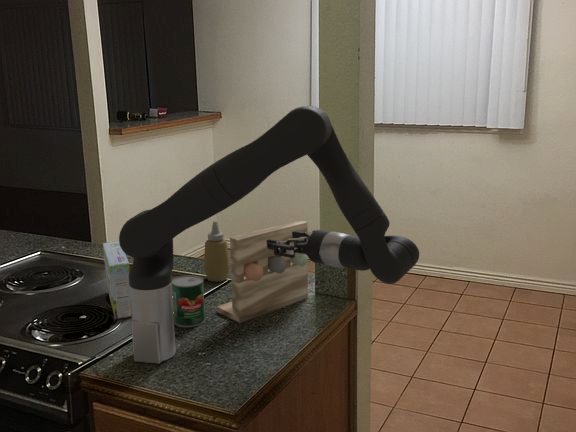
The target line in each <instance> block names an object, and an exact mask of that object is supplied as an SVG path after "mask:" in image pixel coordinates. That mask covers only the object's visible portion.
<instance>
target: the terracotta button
mask: <svg viewBox="0 0 576 432" xmlns="http://www.w3.org/2000/svg"><path fill="white" fill-rule="evenodd" d="M262 276H263V268H262V267H261V266H259V265H256V264H254V263H251V262H250V263H247V264H244V277H246V278H248V279H251V280H253V281H258V280H260V279H261V278H262Z"/></svg>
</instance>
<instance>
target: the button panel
mask: <svg viewBox="0 0 576 432" xmlns="http://www.w3.org/2000/svg"><path fill="white" fill-rule="evenodd" d="M294 231H298V232H308V221H304V220H300V219H299V220H296V221H291V222H287V223H282V224H280V225H276V226H272V227H271V226H270V227H268V228H267V227H266V228H263V229H258V230H255V231H251V232H247V233H243V234H240V235H239V234H238V235H235V236H231V237H229V245H230V246H229V248H230V249H229V251H230V254H229V255H230V278H231V279H230V280H231V281H230V282H231V301H229V302H226V303H223V304H220V305H217V306H216V307H215V308H216V313H219V314H221V315H223V316H225V317H227V318H229V319H230V320H233V321H235V322H237V323H239V324H241V323H245V322H246V321H249V320H252V319H255V318H257V317H260V316H264V315H266V314H269V313H271V312H274V311H277V310H280V309H283V308H285V307H288V306H292V305H294V304H296V303H299V302H302V301H304V300H303V299H305V300H307V299H309V297H308V294H309V293H308V291H309V290H308V287H309V286H308V281H309V278H308V277H309V276H308V275H309V273H308V270H309V269H308V268H309V267H308V265H309V264H308V263H309V261H308V262H307V264H306V265H305V266H303V267H302V266H298V265H295V264H293V263H291V258H289V257H284V256H278V255H274V250H271V249H268V248H267V242H266V241H267V240H268V239H272V240H277V241H287V239H290V238H292V232H294ZM285 245H287V244H285ZM291 245H292V246H294V242H291ZM271 256H277V257H280V258H283V259H285V260H286V262H287V267H286V269H285V271H284V272H283V273H281V274H279V273H276V272H273V271H270V270H268V257H271ZM250 262H251V263H254V264H256V265H259V266H261V267H262V268H263V276H262V278H261V279H260V280H258V281H253V280H251V279H248V278H246V277H244V264H247V263H250ZM306 298H307V299H306ZM301 300H302V301H301ZM298 301H299V302H298Z"/></svg>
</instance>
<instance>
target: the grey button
mask: <svg viewBox="0 0 576 432" xmlns="http://www.w3.org/2000/svg"><path fill="white" fill-rule="evenodd" d="M286 267H287V262H286V260H285V259H283V258H280V257H277V256H271V257H268V270H270V271H273V272H276V273H279V274H281V273H283V272H284V271H285V269H286Z"/></svg>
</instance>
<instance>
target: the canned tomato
mask: <svg viewBox="0 0 576 432" xmlns="http://www.w3.org/2000/svg"><path fill="white" fill-rule="evenodd" d="M171 281H172V299H173V316H174V325H176V326H177V327H179V328H180V327H182V328H192V327H193V328H194V327H197V326H200V325H202V324H204V323H205V321H206V315H205V314H206V313H205V293H204V278H203V277H201V276H199V275H192V274H191V275H190V274H189V275H187V274H186V275H181V276H177V277H175V278H172V279H171Z"/></svg>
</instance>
